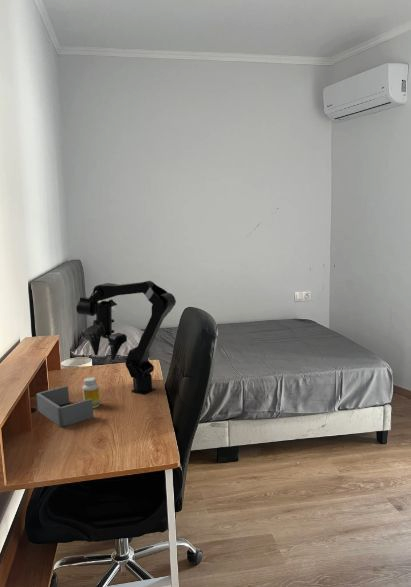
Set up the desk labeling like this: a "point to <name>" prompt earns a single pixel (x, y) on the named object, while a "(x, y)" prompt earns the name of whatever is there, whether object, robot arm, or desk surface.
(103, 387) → the desk surface
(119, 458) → the desk surface
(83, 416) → the open side box
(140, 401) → the desk surface
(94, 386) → the supplement bottle
